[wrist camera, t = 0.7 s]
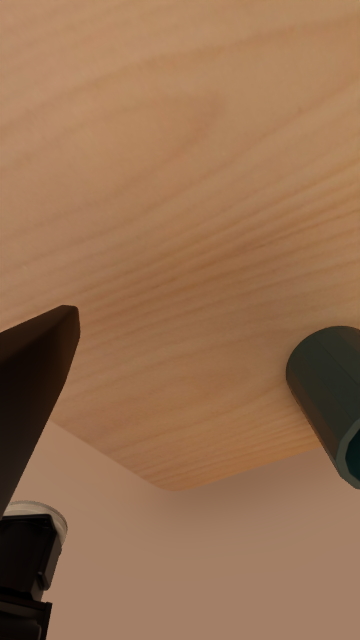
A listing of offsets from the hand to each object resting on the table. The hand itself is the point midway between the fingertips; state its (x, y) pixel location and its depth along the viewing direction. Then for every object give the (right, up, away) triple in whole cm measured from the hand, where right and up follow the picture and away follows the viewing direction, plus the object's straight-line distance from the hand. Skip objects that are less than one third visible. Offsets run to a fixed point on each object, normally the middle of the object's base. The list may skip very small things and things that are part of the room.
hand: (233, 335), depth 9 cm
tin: (+11, -4, +18) cm, 22 cm away
